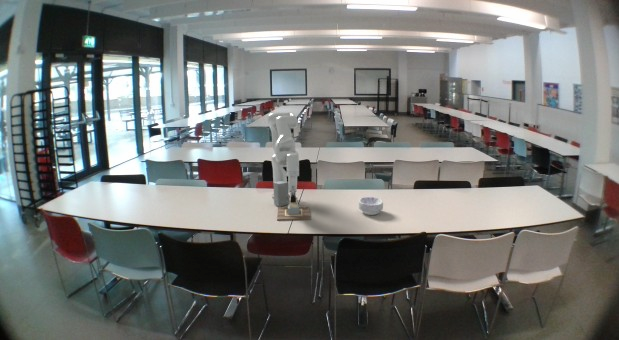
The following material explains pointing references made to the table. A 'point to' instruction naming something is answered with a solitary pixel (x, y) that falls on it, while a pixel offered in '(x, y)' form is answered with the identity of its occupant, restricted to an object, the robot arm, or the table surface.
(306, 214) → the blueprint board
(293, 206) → the maple cube
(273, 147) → the robot arm
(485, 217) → the table surface
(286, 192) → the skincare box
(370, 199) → the paper bowls
